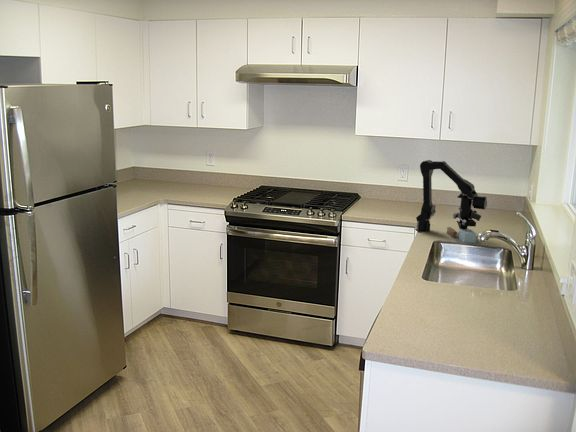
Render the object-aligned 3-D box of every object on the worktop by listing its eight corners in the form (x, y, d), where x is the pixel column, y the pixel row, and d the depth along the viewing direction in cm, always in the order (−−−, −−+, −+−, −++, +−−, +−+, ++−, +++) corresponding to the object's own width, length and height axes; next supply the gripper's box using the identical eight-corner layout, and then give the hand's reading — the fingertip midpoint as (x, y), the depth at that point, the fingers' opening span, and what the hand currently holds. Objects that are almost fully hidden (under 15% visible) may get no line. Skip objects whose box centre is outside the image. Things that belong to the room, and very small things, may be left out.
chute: (451, 238, 321) (452, 232, 320) (445, 233, 331) (446, 227, 330) (473, 238, 322) (474, 232, 321) (467, 233, 332) (467, 227, 331)
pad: (459, 244, 310) (459, 243, 310) (451, 238, 321) (451, 237, 321) (482, 244, 310) (482, 244, 310) (473, 238, 322) (473, 237, 322)
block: (464, 242, 312) (465, 233, 311) (458, 238, 320) (459, 229, 319) (475, 242, 313) (476, 233, 312) (469, 238, 320) (470, 229, 319)
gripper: (487, 211, 310) (483, 240, 314) (473, 203, 328) (470, 230, 332) (466, 210, 309) (463, 239, 313) (454, 202, 327) (451, 230, 331)
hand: (462, 234), depth 322 cm, fingers closed
